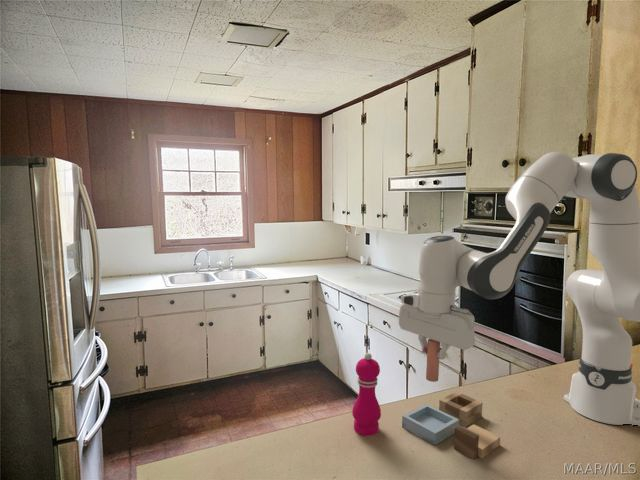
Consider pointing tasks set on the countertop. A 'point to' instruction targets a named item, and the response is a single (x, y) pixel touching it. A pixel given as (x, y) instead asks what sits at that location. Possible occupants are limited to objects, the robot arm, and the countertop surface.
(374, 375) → the pepper mill
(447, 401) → the socket block
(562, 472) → the countertop surface
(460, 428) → the block
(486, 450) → the tan wooden cuboid
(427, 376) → the dowel
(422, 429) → the tray
